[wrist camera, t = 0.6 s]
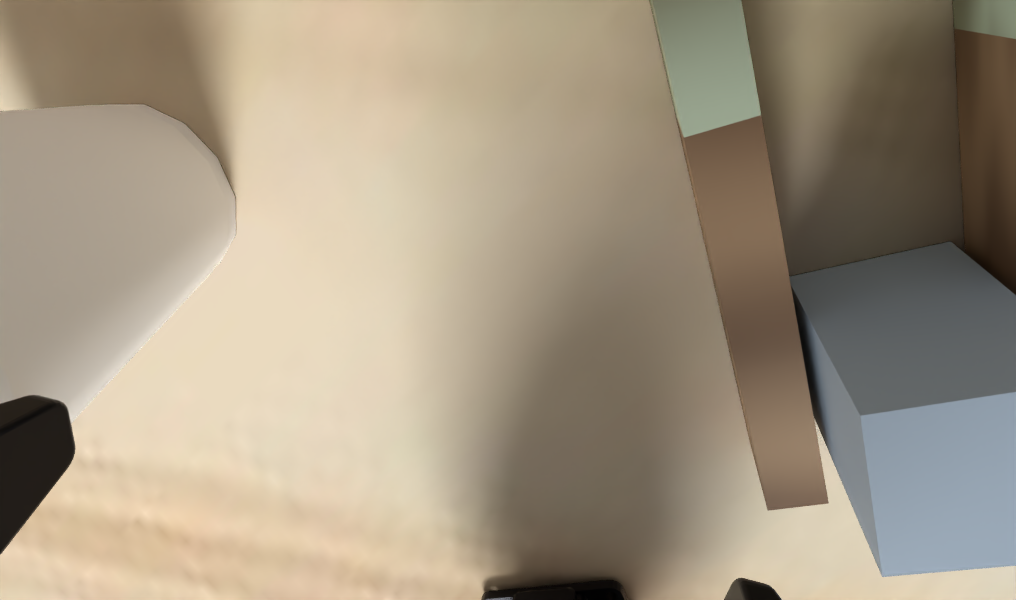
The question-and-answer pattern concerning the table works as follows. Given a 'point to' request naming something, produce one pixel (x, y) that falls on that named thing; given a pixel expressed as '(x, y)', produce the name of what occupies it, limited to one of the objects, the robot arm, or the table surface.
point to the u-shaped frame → (755, 221)
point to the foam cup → (99, 241)
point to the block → (917, 403)
